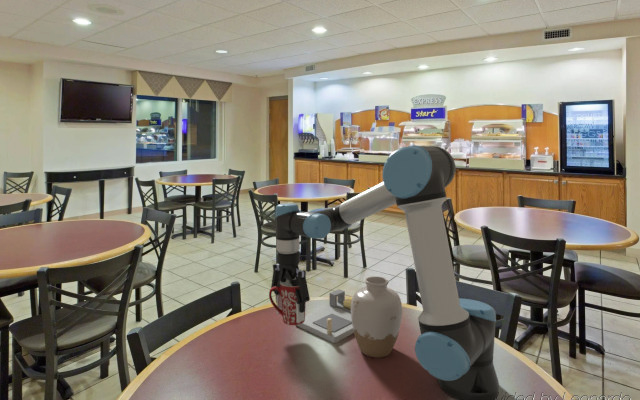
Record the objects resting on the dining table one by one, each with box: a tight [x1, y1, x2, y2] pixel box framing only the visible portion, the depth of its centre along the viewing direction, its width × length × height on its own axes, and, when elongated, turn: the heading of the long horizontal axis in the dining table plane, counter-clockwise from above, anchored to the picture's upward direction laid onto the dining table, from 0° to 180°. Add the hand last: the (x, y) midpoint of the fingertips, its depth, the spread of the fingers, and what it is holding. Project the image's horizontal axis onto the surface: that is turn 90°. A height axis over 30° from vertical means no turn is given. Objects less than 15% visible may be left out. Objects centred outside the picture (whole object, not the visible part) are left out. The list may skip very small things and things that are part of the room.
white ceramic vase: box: [351, 276, 403, 359], centre depth 119 cm, size 16×16×23 cm
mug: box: [268, 278, 308, 326], centre depth 127 cm, size 13×9×14 cm
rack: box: [295, 289, 354, 344], centre depth 138 cm, size 19×23×7 cm
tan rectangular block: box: [344, 298, 352, 310], centre depth 144 cm, size 7×3×3 cm, turn 46°
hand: (290, 316), depth 127 cm, fingers closed on mug, 9 cm apart
